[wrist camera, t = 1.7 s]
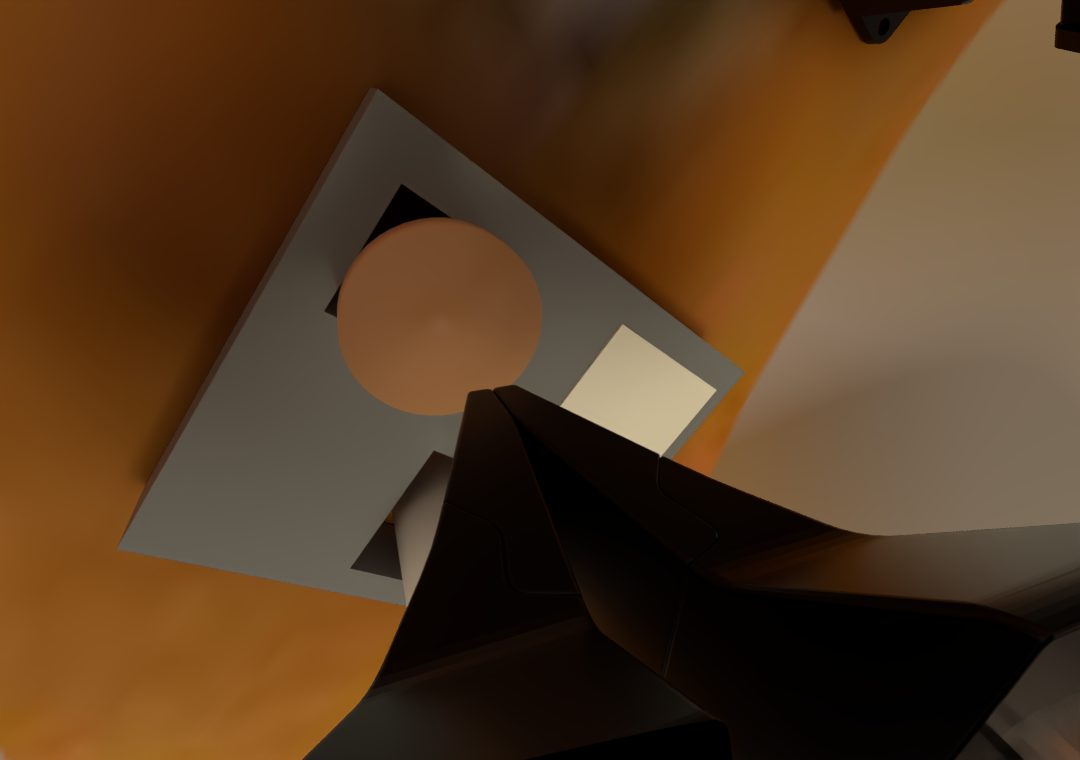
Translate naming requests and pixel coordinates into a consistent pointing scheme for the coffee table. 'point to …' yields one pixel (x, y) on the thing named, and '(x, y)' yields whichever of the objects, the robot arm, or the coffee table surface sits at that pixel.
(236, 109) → the coffee table surface
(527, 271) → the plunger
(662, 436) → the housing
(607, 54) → the coffee table surface
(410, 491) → the cylinder
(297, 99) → the coffee table surface
